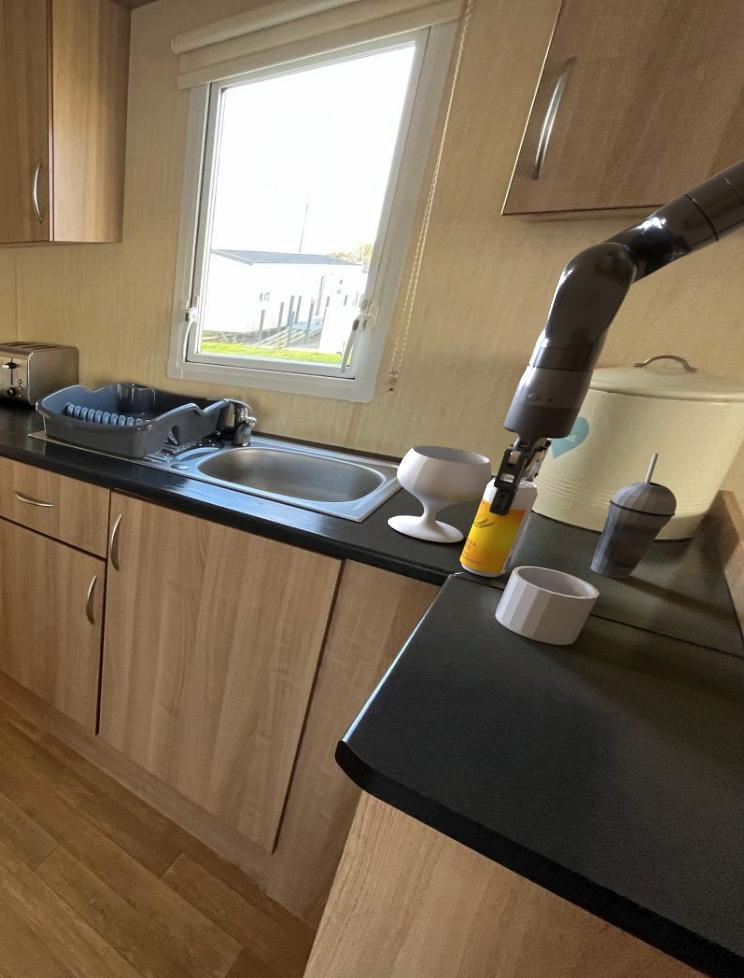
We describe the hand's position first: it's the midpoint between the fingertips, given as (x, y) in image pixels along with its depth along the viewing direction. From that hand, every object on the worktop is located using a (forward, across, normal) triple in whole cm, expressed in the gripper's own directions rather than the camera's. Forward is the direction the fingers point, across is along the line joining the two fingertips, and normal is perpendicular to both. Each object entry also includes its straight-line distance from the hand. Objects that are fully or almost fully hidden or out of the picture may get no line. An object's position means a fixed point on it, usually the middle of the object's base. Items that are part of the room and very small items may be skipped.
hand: (504, 509), depth 85 cm
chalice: (+11, +11, +12) cm, 20 cm away
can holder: (+11, -13, -10) cm, 20 cm away
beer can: (+11, 0, 0) cm, 11 cm away
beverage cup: (+11, +18, -13) cm, 25 cm away
